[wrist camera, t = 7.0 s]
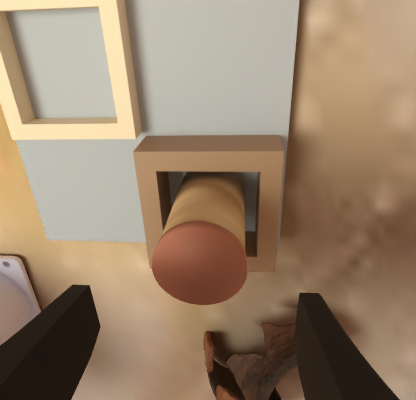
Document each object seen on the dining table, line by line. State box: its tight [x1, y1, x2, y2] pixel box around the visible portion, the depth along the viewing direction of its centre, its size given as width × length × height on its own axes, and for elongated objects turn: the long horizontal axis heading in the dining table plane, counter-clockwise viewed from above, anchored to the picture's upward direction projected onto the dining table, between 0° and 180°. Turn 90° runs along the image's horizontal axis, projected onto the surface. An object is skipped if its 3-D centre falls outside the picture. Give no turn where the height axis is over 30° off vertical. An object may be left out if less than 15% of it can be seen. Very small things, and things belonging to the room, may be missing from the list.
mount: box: [0, 0, 299, 272], centre depth 17 cm, size 15×14×4 cm
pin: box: [152, 171, 247, 305], centre depth 16 cm, size 4×4×7 cm
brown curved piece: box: [204, 322, 298, 400], centre depth 24 cm, size 12×10×8 cm
